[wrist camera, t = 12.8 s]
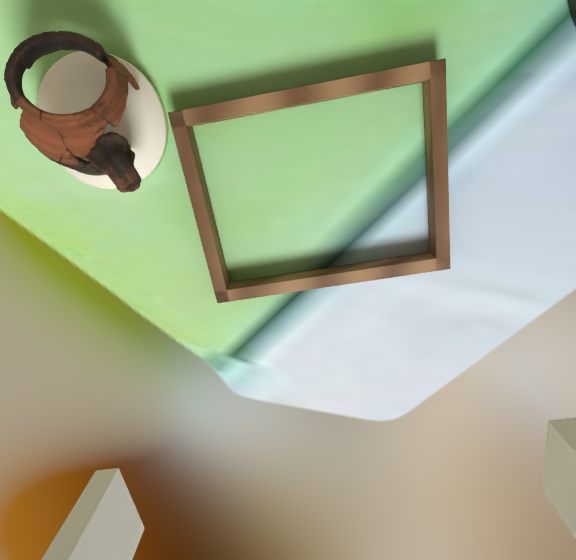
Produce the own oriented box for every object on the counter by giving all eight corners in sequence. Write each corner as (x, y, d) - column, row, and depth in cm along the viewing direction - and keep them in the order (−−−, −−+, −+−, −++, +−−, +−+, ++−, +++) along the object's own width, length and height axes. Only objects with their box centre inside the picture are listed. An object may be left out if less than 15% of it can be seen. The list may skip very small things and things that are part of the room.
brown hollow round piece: (23, 129, 33) (-44, 63, 25) (113, 72, 35) (77, -7, 27) (113, 231, 33) (74, 198, 25) (197, 168, 35) (187, 119, 27)
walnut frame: (436, 63, 31) (445, 58, 29) (442, 262, 37) (450, 268, 35) (175, 114, 33) (167, 112, 31) (221, 295, 39) (217, 303, 37)
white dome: (146, 40, 31) (142, 37, 30) (182, 176, 35) (179, 177, 34) (23, 66, 32) (15, 64, 31) (71, 196, 36) (65, 198, 35)
